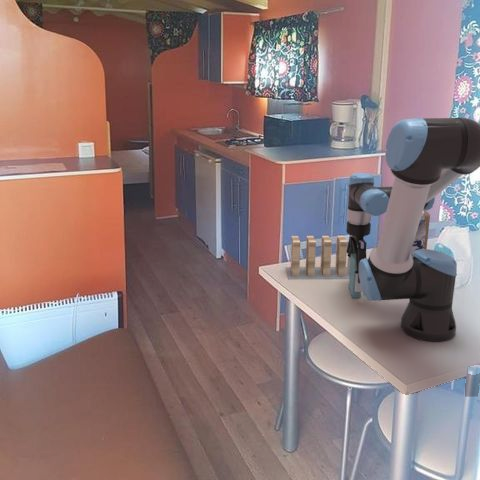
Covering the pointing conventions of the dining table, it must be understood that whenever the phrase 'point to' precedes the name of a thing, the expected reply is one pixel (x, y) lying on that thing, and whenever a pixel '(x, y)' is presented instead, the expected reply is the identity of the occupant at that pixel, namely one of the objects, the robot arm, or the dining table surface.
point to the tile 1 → (295, 256)
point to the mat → (317, 274)
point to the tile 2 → (310, 256)
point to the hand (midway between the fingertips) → (354, 283)
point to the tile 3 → (325, 255)
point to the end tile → (353, 277)
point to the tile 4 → (341, 256)
